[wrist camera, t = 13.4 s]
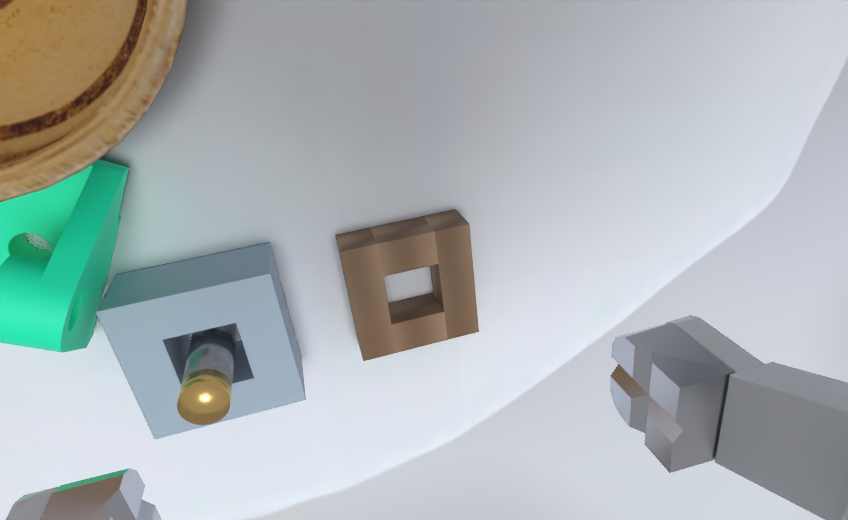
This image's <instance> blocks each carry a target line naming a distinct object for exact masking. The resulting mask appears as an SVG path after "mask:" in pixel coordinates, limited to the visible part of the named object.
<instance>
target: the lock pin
mask: <svg viewBox="0 0 848 520" xmlns="http://www.w3.org/2000/svg"><path fill="white" fill-rule="evenodd" d="M236 336H237V324H236V323H233V324H228V325H224V326H220V327H215V328H211V329H207V330H203V331H198V332H194V333H193V335H192V340H191V344H190V349H189V353H188V357H187V362H186V366H185V371H184V375H183V380H182V384H181V389H180V393H179V397H178V402H177V410H178V413H179V414H180V416H181V417H182V418H183V419H184V420H186V421H187V422H190V423H192V424H196V425H208V424H213V423H215V422H218V421H219V420H221V419H222V418H224V417H225V416H226V414H227V413H228V411H229V409H230V402H231V391H232V380H233V369H234V358H235V347H236Z"/></svg>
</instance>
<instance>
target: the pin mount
mask: <svg viewBox="0 0 848 520" xmlns="http://www.w3.org/2000/svg"><path fill="white" fill-rule="evenodd" d="M336 240H337V244H338V249H339V254H340V259H341V263H342V268H343V273H344V277H345V282H346V287H347V292H348V296H349V301H350V306H351V310H352V315H353V320H354V325H355V329H356V334H357V339H358V342H359V346H360V350H361V354H362V357H363V361H366V360H370V359H373V358H377V357H381V356H385V355H389V354H393V353H397V352H401V351H405V350H409V349H413V348H416V347H420V346H424V345H428V344H432V343H436V342H440V341H444V340H448V339H452V338H456V337H460V336H463V335H467V334H471V333H475V332H479V329H478V317H477V306H476V295H475V284H474V272H473V261H472V250H471V239H470V227H469V223H468V222H467V221H466V220H465V219H464V218H463V217H462V216H461V215H460V213H459V212H458V211H457V210H452V211H447V212H442V213H438V214H433V215H428V216H424V217H419V218H414V219H409V220H405V221H400V222H395V223H391V224H386V225H381V226H376V227H372V228H367V229H362V230H358V231H353V232H348V233H343V234H339V235H336ZM427 266H430V271H431V279H432V286H433V293H430V294H426V295H422V296H418V297H414V298H410V299H405V300H401V301H397V302H393V303H389V304H388V302H387V296H386V290H385V284H384V279H383V276H387V275H392V274H396V273H401V272H405V271H409V270H414V269H418V268H422V267H427Z"/></svg>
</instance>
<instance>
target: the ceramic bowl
mask: <svg viewBox="0 0 848 520" xmlns="http://www.w3.org/2000/svg"><path fill="white" fill-rule="evenodd" d="M186 9H187V0H0V202H3V201H6V200H10V199H13V198H16V197H20V196H23V195H26V194H30V193H33V192H37V191H40V190H43V189H46V188H48V187H50V186H52V185H54V184H56V183H58V182H60V181H62V180H64V179H66V178H68V177H70V176H72V175H74V174H76V173H78V172H80V171H82V170H84V169H86V168H88V167H89V166H90V165H91V164H93V163H94V162H95V161H97V160H98V159H99V158H100V157H102V156H103V155H104V154H106V153H107V152H108V151H109V150H111V149H112V148H113V147H115V146H116V145H117V144H119V143H120V142H121V141H122V140H123V139H124V138H125V136H126V135H127V134H128V133H129V132H130V131H131V129H132V128H133V127H134V126H135V125H136V124H137V122H138V121H139V120H140V119H141V118H142V116H143V115H144V114H145V113H146V112H147V111H148V109H149V108H150V106H151V105H152V103H153V101H154V99H155V97H156V95H157V94H158V92H159V90H160V88H161V86H162V84H163V83H164V81H165V79H166V77H167V75H168V74H169V72H170V70H171V67H172V64H173V61H174V57H175V54H176V51H177V48H178V44H179V41H180V38H181V35H182V31H183V28H184V25H185V17H186Z"/></svg>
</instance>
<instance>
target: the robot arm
mask: <svg viewBox="0 0 848 520" xmlns="http://www.w3.org/2000/svg"><path fill="white" fill-rule="evenodd" d="M612 357H613V358H614V359H615V360H616V362H617V363H618V366H617V367H616V369H615V370H614V372H613V373H612V375H611V394H612V398H613V401H614V404H615V407H616V408H617V410H618V412H619V414H620V415H621V417H622V418H623V419H624V420H625V422H626V423H627V424H628V425H629V426H630V427H632V428H635V429H637V430H639V431H642V432H644V433H645V445H646V446H647V447H648V449H649V450H650V451H651V452H652V453H653V454H654V455H655V456H656V458H657V459H658V460H659V461H660V462H661V463H662V465H663V466H664V467H665V468H666V469H667V470H668V471H669V472H670V473H671V472H674V471H678V470H681V469H684V468H687V467H691V466H695V465H698V464H702V463H705V462H708V461H712V460H715V462H716V463H717V464H720V465H721V466H723V467H725V468H727V469H729V470H731V471H733V472H735V473H737V474H739V475H741V476H743V477H744V478H746V479H748V480H750V481H752V482H754V483H756V484H758V485H760V486H762V487H764V488H765V489H768V490H769V491H771V492H773V493H775V494H777V495H779V496H781V497H783V498H785V499H787V500H789V501H790V502H792V503H794V504H796V505H798V506H800V507H802V508H804V509H806V510H808V511H810V512H812V513H813V514H816V515H817V516H819V517H821V518H823V519H825V520H848V383H847V382H843V381H840V380H836V379H832V378H829V377H825V376H822V375H818V374H814V373H810V372H807V371H803V370H800V369H796V368H792V367H789V366H785V365H781V364H778V363H774V362H771V363H768V364H764V363H762V362H761V361H759V360H758V359H757V358H755V357H754V356H752V355H751V354H750V353H748V352H747V351H745V350H744V349H743V348H741V347H740V346H738V345H737V344H736V343H734V342H733V341H731V340H730V339H729V338H727V337H726V336H724V335H723V334H722V333H720V332H719V331H718V330H716V329H715V328H713V327H712V326H710V325H709V324H708V323H706V322H705V321H703V320H702V319H701V318H699V317H696V316H692V315H690V316H687V317H683V318H680V319H676V320H673V321H670V322H667V323H665V324H661V325H658V326H654V327H650V328H647V329H643V330H640V331H636V332H632V333H629V334H625V335H622V336H618V337H616V338H615V340H614V342H613V344H612ZM144 487H145V485H144V483H143V481H142V479H141V478H140V476H139V474H138V472H137V470H133V469H125V470H121V471H117V472H113V473H109V474H105V475H101V476H97V477H93V478H89V479H85V480H81V481H77V482H73V483H69V484H65V485H61V486H60V487H55V488H51V489H47V490H43V491H39V492H35V493H31V494H27V495H24V496H23V497H21V498H20V499H19V500H17V501H16V502H15V503H14V505H13V506H12V508H11V510H10V512H9V514H8V516H7V518H6V520H161V517H160V515H159V513H158V511H157V509H156V507H155V505H153V504H151V503H149V502H146V501H144V500H142V495H143V491H144Z"/></svg>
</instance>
